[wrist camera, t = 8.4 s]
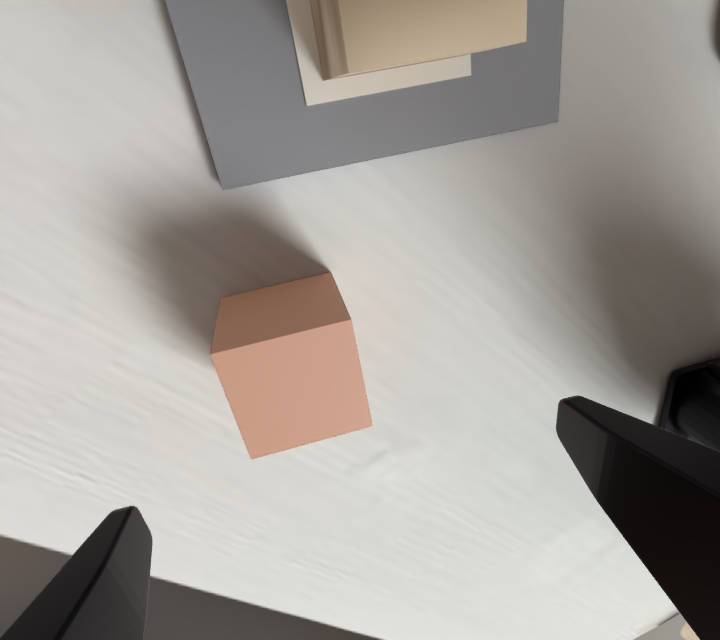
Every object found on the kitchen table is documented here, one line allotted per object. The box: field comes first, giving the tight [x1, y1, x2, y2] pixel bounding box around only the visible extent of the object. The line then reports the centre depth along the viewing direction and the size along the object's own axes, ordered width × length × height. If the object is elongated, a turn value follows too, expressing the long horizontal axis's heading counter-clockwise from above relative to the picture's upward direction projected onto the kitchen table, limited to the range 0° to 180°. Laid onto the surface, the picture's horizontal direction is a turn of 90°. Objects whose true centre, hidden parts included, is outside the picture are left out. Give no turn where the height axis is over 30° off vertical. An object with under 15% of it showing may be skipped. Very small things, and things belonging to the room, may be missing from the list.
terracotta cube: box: [210, 272, 373, 459], centre depth 19 cm, size 5×5×5 cm
